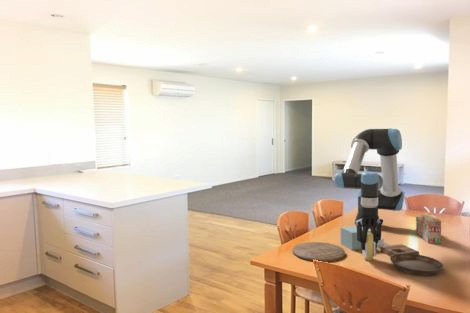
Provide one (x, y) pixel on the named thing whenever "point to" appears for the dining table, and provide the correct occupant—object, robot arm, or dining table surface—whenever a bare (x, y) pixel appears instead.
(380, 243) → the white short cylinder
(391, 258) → the plant saucer
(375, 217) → the robot arm
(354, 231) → the block
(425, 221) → the printed food box
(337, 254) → the trivet
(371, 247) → the peg
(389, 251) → the socket board
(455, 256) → the dining table surface
